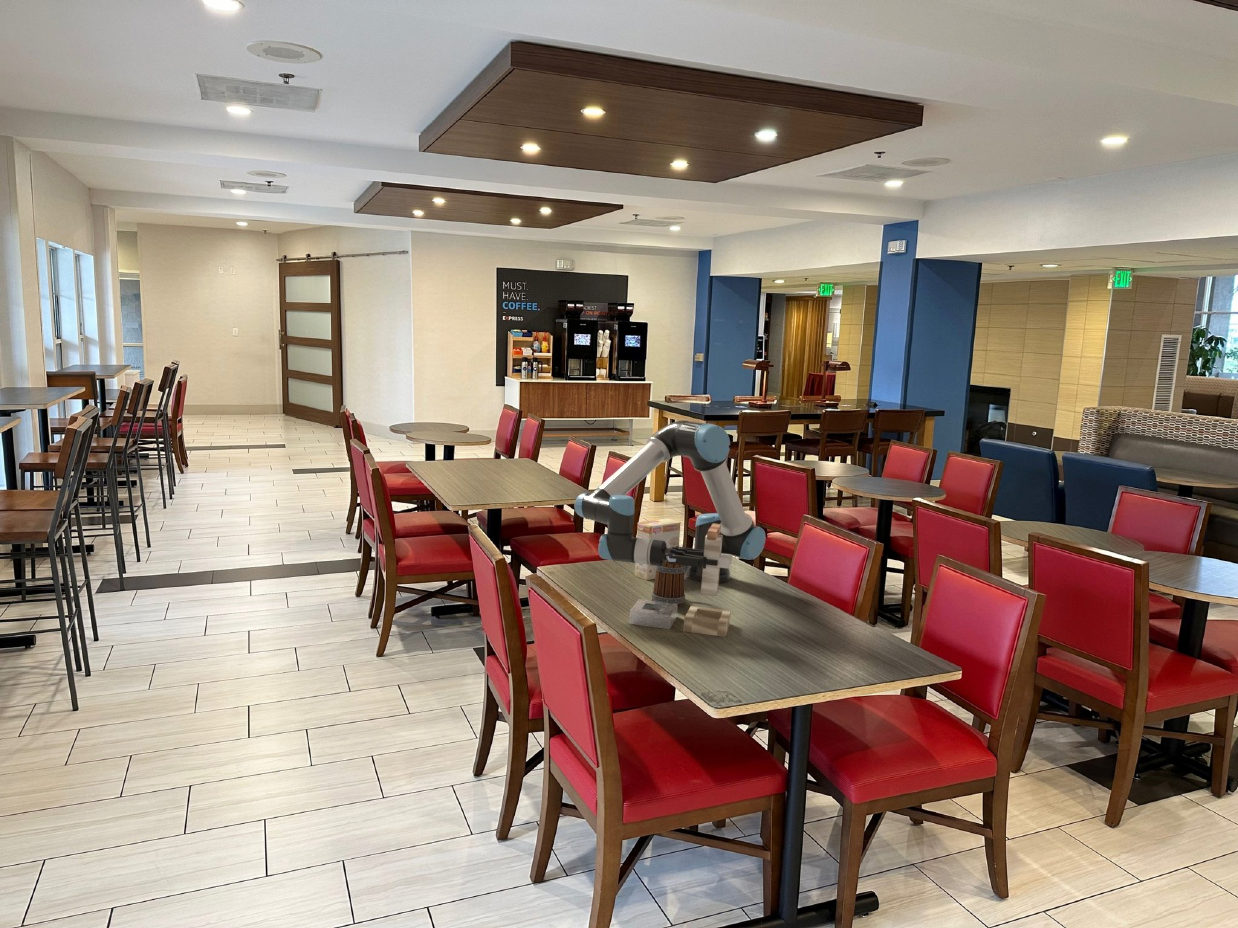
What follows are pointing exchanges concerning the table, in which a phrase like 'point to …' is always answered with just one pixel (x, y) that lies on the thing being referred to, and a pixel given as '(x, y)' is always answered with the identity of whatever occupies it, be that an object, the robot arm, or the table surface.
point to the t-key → (713, 550)
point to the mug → (670, 583)
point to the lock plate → (653, 614)
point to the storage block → (707, 621)
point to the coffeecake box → (656, 531)
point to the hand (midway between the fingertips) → (730, 561)
